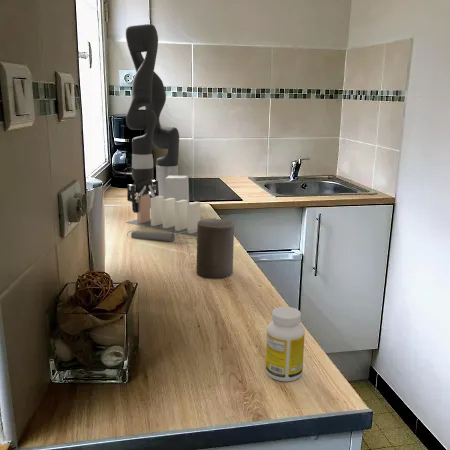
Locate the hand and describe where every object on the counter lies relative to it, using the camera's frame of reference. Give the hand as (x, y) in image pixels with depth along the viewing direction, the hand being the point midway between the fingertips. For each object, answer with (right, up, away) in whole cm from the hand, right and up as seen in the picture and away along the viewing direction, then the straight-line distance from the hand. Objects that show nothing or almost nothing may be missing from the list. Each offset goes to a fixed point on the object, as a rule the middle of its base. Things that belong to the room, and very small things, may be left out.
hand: (143, 210), depth 178 cm
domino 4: (+15, -7, -8) cm, 18 cm away
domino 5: (+19, -8, -11) cm, 23 cm away
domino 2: (+5, -5, -2) cm, 8 cm away
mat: (+9, -6, -5) cm, 12 cm away
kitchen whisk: (+14, -12, -24) cm, 30 cm away
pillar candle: (+27, -18, -49) cm, 59 cm away
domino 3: (+10, -6, -5) cm, 13 cm away
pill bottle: (+40, -30, -97) cm, 109 cm away
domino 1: (0, -4, +1) cm, 4 cm away
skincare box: (+11, -2, +14) cm, 18 cm away
